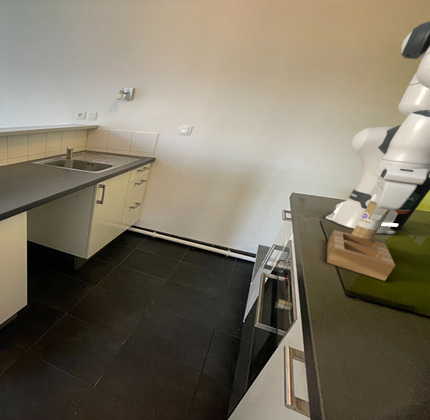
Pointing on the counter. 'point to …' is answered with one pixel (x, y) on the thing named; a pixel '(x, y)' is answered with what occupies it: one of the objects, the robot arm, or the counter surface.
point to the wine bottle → (411, 203)
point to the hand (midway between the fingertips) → (373, 216)
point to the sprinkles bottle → (368, 222)
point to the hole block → (359, 255)
